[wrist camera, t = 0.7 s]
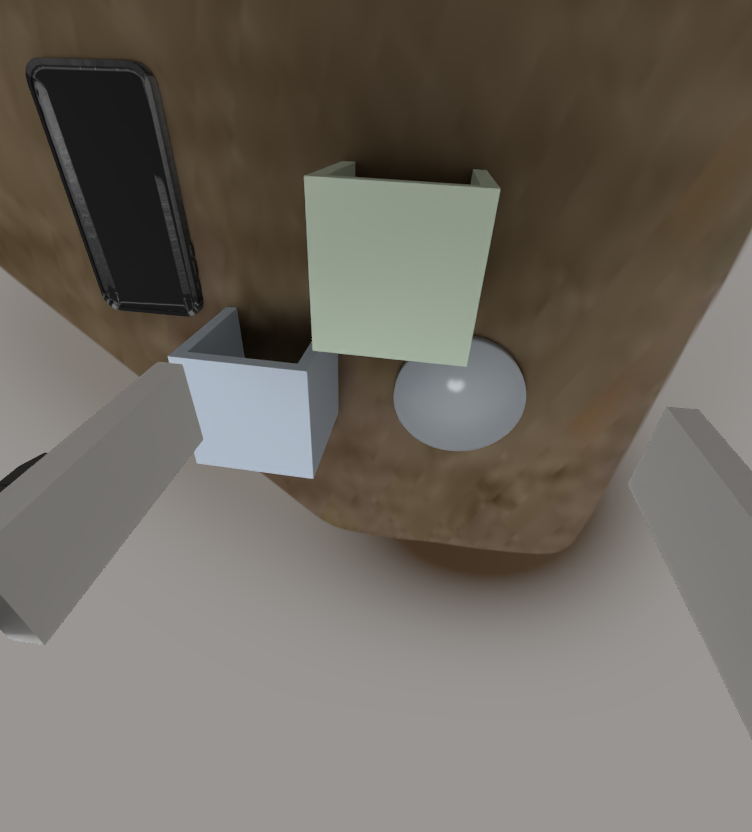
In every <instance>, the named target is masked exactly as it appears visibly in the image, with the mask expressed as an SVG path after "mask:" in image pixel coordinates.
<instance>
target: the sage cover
mask: <svg viewBox="0 0 752 832" xmlns="http://www.w3.org/2000/svg"><path fill="white" fill-rule="evenodd" d="M304 188H305V208H306V228H307V248H308V268H309V288H310V308H311V328H312V349H313V351H320V352H330V353H339V354H349V355H358V356H368V357H377V358H387V359H396V360H406V361H415V362H425V363H434V364H444V365H453V366H463V367H467V363H468V357H469V352H470V347H471V342H472V336H473V331H474V326H475V321H476V315H477V310H478V305H479V300H480V295H481V289H482V284H483V279H484V274H485V268H486V263H487V258H488V253H489V247H490V242H491V237H492V232H493V226H494V221H495V216H496V211H497V205H498V200H499V195H500V190H501V189H500V187H499V186H498V185H497V183H496V182H495V181H494V179H493V178H492V177H491V175H490V174H489V173H488V171H487V170H478V169H473V171H472V178H471V184H470V185H469V184H453V183H438V182H423V181H408V180H393V179H378V178H363V177H355V162H351V161H341V162H338V163H336V164H333V165H331V166H328V167H325V168H323V169H320V170H318V171H315V172H312V173H310V174H307V175H305V176H304Z"/></svg>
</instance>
